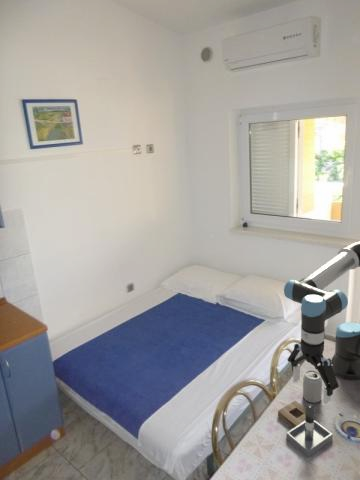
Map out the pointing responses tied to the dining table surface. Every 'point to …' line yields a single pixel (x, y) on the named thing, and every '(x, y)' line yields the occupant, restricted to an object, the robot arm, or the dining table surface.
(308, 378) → the can
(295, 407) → the plate
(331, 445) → the dining table surface
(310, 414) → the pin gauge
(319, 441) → the tray
